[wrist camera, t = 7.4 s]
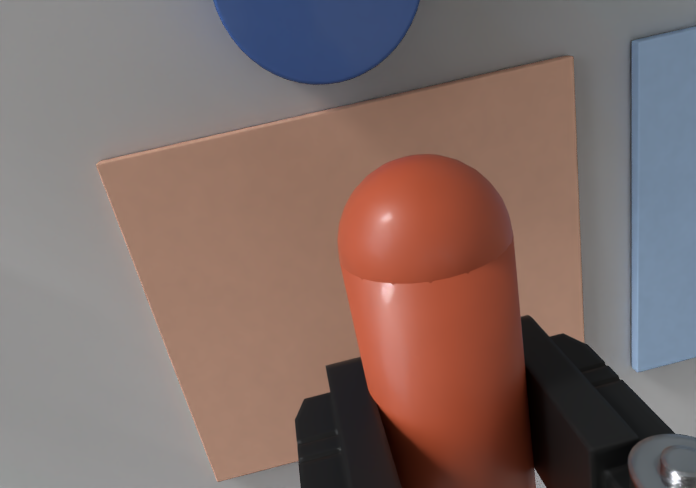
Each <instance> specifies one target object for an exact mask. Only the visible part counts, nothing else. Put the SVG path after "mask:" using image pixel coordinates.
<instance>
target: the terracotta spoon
mask: <svg viewBox="0 0 696 488" xmlns="http://www.w3.org/2000/svg"><path fill="white" fill-rule="evenodd" d="M337 241H338V252H339V261H340V266H341V270H342V274H343V279H344V283H345V288H346V292H347V297H348V301H349V306H350V310H351V315H352V319H353V324H354V328H355V333H356V337H357V342H358V346H359V351H360V355H361V360H362V364H363V369H364V373H365V378H366V382H367V387H368V390H369V392H370V395H371V396H372V398H373V399H374V401H375V402H376V404H377V407H378V410H379V414H380V417H381V420H382V424H383V427H384V430H385V433H386V437H387V440H388V443H389V447H390V450H391V453H392V457H393V460H394V463H395V466H396V470H397V473H398V476H399V480H400V483H401V486H402V488H536V483H535V472H534V461H533V450H532V439H531V427H530V416H529V405H528V394H527V382H526V371H525V360H524V349H523V338H522V326H521V315H520V304H519V293H518V281H517V270H516V259H515V248H514V237H513V230H512V226H511V221H510V216H509V213H508V210H507V208H506V206H505V204H504V201H503V199H502V197H501V196H500V194H499V193H498V192H497V190H496V189H495V188H494V186H493V185H492V184H491V183H490V182H489V181H488V180H487V179H486V178H485V177H484V176H483V175H482V174H481V173H479V172H478V171H477V170H476V169H474V168H472V167H470V166H468V165H466V164H465V163H463V162H461V161H459V160H457V159H453V158H449V157H445V156H441V155H436V154H418V155H410V156H405V157H402V158H398V159H395V160H392V161H390V162H387V163H385V164H383V165H382V166H380V167H379V168H377V169H376V170H374V171H373V172H371V173H370V174H369V175H367V176H366V177H365V179H364V180H363V181H362V182H361V183H360V184H359V185H358V186H357V187H356V188H355V189H354V191H353V192H352V194H351V196H350V198H349V199H348V201H347V203H346V205H345V207H344V210H343V213H342V216H341V219H340V222H339V228H338V238H337Z"/></svg>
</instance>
